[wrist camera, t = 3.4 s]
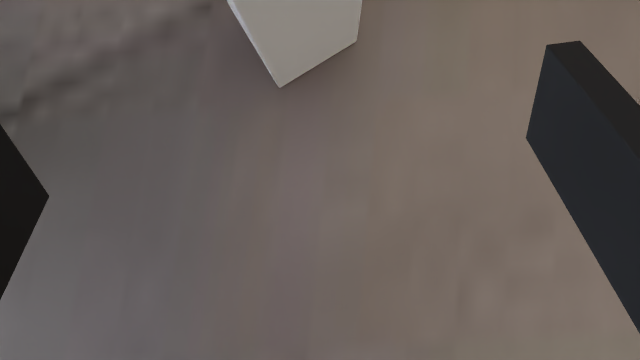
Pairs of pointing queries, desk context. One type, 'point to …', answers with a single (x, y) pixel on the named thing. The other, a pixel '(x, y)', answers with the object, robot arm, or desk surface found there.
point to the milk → (297, 32)
